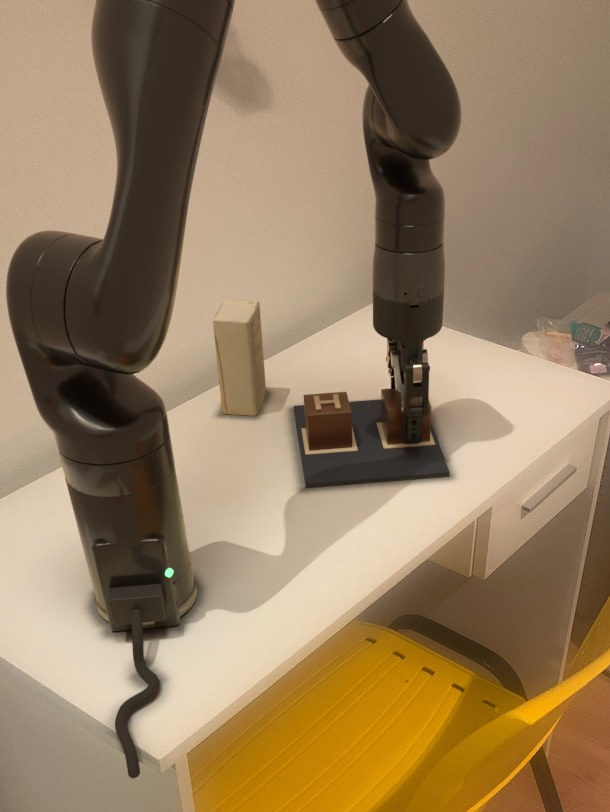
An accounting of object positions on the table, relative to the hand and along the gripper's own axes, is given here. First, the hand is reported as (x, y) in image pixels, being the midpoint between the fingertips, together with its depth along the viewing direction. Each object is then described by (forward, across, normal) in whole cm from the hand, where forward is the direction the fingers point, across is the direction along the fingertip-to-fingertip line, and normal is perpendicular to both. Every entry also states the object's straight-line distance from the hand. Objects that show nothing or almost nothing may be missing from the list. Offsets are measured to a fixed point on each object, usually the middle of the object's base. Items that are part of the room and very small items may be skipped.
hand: (405, 424), depth 111 cm
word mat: (+2, 0, -4) cm, 5 cm away
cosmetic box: (+2, -12, -18) cm, 22 cm away
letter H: (+1, 0, -9) cm, 9 cm away
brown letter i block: (+1, 0, 0) cm, 1 cm away
